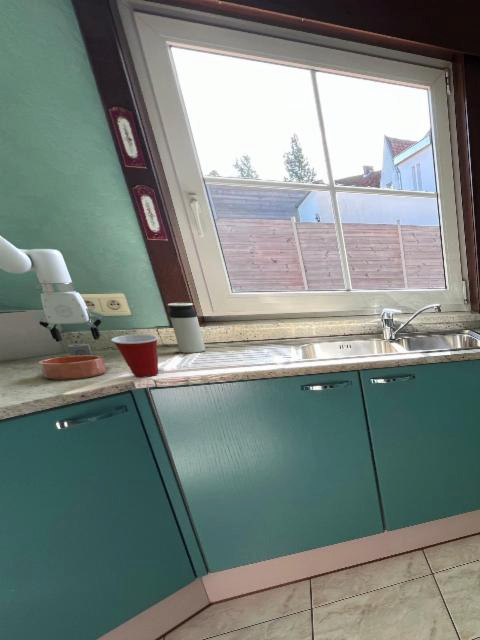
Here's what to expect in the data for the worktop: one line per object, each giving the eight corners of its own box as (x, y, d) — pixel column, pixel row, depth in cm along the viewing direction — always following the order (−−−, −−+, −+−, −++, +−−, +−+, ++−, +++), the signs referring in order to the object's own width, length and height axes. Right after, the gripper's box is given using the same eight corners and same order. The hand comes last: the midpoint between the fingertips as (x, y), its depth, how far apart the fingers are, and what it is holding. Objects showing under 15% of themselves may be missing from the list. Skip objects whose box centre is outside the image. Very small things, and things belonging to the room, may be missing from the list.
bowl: (37, 382, 144) (30, 365, 142) (55, 372, 155) (49, 356, 153) (99, 378, 150) (93, 362, 148) (112, 369, 161) (107, 354, 159)
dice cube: (73, 359, 173) (68, 344, 171) (93, 357, 176) (88, 343, 174) (73, 361, 169) (67, 347, 168) (93, 359, 173) (88, 345, 171)
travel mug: (208, 351, 192) (196, 304, 186) (183, 354, 186) (169, 305, 180) (202, 348, 197) (189, 302, 190) (177, 351, 191) (163, 303, 184)
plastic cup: (126, 381, 148) (112, 341, 144) (121, 374, 155) (108, 336, 150) (171, 375, 156) (160, 337, 151) (165, 370, 162) (154, 333, 158)
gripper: (16, 290, 157) (39, 343, 164) (89, 288, 165) (108, 340, 172) (27, 288, 163) (48, 340, 170) (97, 287, 171) (114, 336, 178)
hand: (78, 340), depth 171 cm, fingers open, 9 cm apart
